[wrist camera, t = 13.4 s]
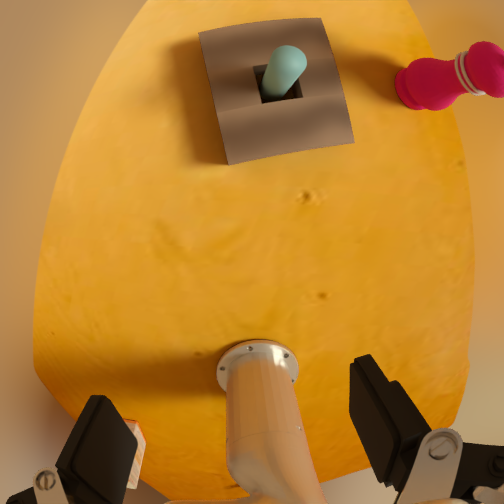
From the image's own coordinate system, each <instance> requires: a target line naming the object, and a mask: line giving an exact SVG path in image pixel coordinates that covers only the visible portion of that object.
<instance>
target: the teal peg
mask: <svg viewBox="0 0 504 504" xmlns="http://www.w3.org/2000/svg"><path fill="white" fill-rule="evenodd" d="M306 66H307V59H306V56H305V55H304V53H303V52H302V51H301V50H300V49H298V48H296V47H294V46H289V45H285V46H280V47H278V48H276V49H275V50H274V51H273V53H272V55H271V58H270V60H269V63H268V66H267V68H266V71H265V74H264V76H263V79H262V82H261V85H260V88H259V93H260V95H261V97H262V98H263V99H265V100H266V101H269V102H276V101H279V100H280V99H281V98H282V97H283V96H284V95H285V93H286V92H287V91H288V90H289V88H290V87H291V86H292V85H293V83H294V82H295V81H296V80H297V78H298V77H299V76H300V75H301V74H302V72H303V71H304V70H305V68H306Z"/></svg>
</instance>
